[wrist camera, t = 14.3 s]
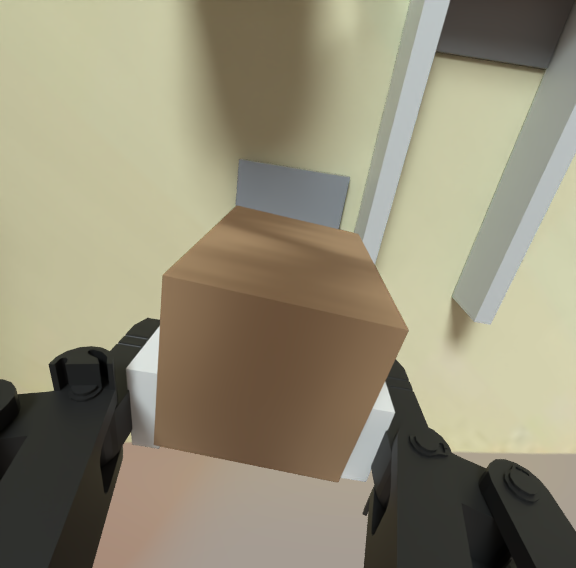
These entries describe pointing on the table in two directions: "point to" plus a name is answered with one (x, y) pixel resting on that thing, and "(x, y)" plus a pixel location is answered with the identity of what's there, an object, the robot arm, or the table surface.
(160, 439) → the block
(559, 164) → the channel
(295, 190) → the coaster
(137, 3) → the table surface
